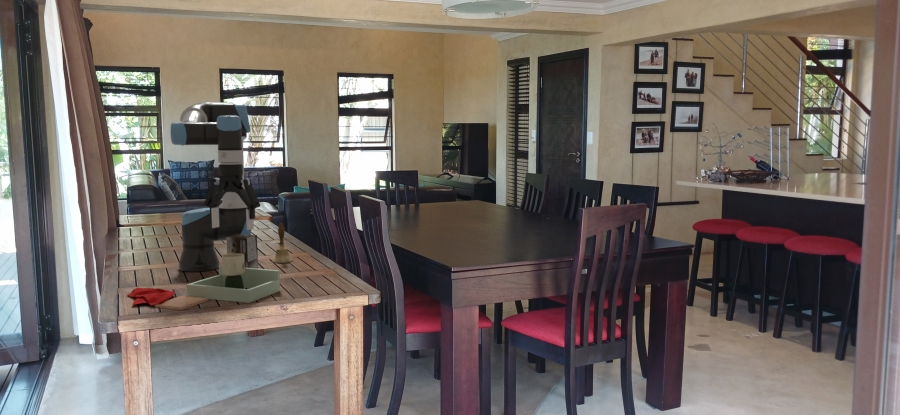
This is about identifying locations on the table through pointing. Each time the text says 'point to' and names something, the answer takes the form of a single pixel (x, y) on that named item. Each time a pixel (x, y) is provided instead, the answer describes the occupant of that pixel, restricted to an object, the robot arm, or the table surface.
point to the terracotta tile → (181, 302)
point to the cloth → (150, 295)
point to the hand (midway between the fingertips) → (232, 228)
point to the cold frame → (253, 280)
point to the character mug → (233, 270)
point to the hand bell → (281, 248)
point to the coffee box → (244, 248)
